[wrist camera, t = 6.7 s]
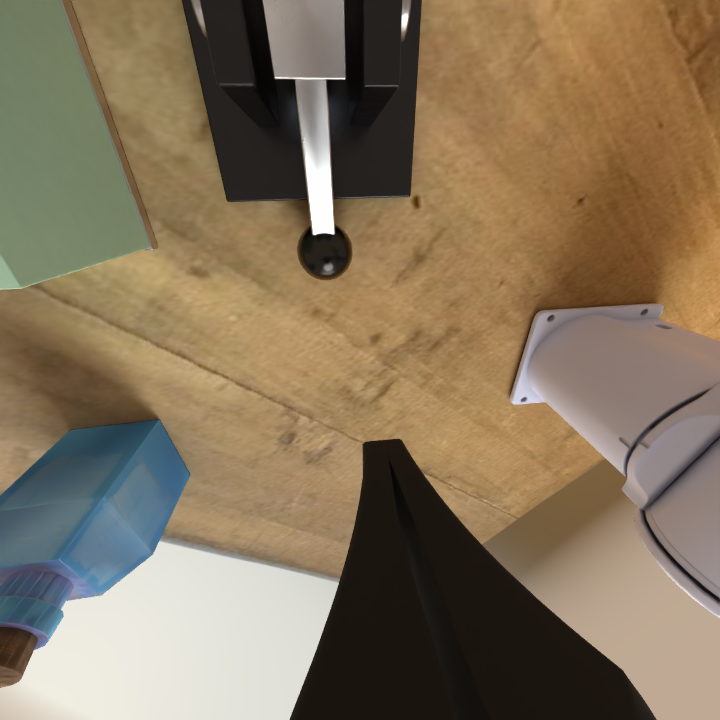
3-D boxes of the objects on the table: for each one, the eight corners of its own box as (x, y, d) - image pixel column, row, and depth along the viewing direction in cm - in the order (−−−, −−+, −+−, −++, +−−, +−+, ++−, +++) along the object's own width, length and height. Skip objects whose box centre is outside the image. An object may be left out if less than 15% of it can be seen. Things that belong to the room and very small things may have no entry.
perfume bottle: (159, 419, 21) (1, 637, 11) (190, 474, 24) (91, 684, 14) (70, 430, 21) (-183, 667, 10) (113, 484, 24) (-48, 708, 13)
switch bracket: (404, 196, 16) (454, 198, 10) (233, 201, 15) (174, 206, 9) (420, -120, 10) (543, -515, 5) (160, -137, 10) (-86, -636, 4)
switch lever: (350, 258, 17) (354, 289, 15) (301, 260, 17) (301, 292, 15) (348, -77, 8) (358, -89, 6) (246, -82, 8) (230, -96, 6)
